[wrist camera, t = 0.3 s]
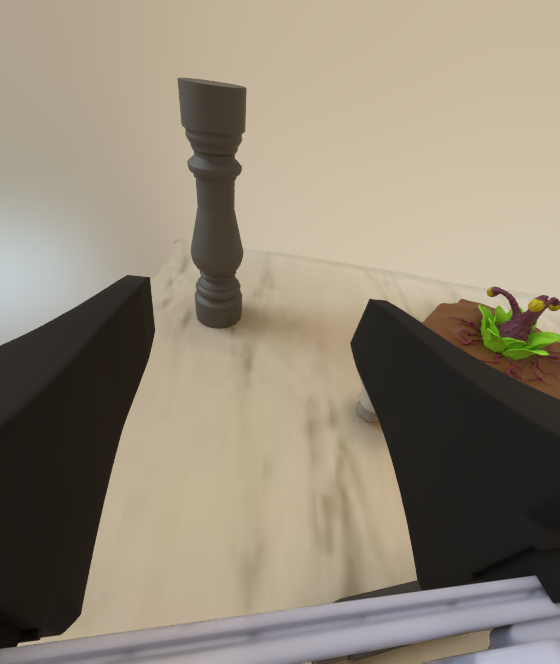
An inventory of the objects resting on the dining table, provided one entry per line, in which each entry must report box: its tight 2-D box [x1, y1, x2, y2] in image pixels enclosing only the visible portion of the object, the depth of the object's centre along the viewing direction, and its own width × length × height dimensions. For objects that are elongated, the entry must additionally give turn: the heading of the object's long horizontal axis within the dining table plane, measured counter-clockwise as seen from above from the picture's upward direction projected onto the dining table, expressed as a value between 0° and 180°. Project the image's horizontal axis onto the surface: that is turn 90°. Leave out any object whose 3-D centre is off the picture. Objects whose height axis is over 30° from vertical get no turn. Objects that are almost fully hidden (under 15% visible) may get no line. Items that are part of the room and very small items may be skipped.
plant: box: [422, 287, 560, 399], centre depth 37 cm, size 20×20×11 cm
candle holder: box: [178, 78, 246, 328], centre depth 33 cm, size 6×6×25 cm
